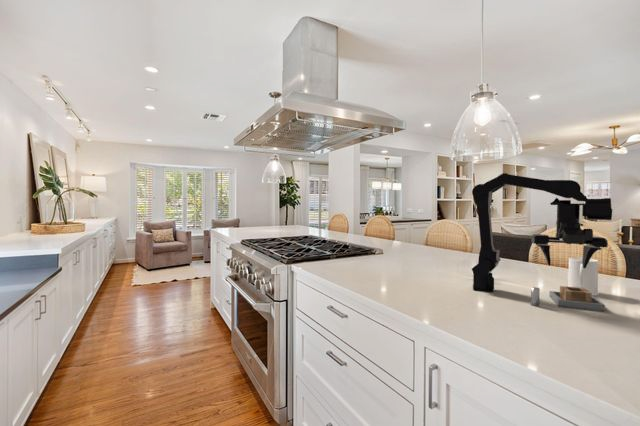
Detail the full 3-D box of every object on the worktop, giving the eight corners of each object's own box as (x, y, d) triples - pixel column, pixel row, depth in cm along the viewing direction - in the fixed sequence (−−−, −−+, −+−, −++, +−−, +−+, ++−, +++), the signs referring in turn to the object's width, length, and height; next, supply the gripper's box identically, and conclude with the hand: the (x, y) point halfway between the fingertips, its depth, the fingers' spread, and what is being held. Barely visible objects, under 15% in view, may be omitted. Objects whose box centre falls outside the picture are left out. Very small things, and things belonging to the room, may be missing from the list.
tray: (558, 306, 96) (558, 300, 96) (549, 296, 106) (549, 290, 106) (604, 311, 91) (604, 304, 91) (590, 300, 101) (590, 294, 101)
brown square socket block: (559, 297, 103) (559, 285, 103) (583, 300, 100) (583, 287, 100) (565, 303, 97) (565, 290, 97) (591, 306, 94) (591, 293, 94)
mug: (594, 299, 103) (595, 263, 102) (562, 293, 109) (563, 260, 109) (600, 292, 110) (601, 259, 110) (570, 287, 117) (570, 256, 116)
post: (531, 305, 97) (531, 288, 96) (530, 303, 99) (530, 286, 98) (540, 306, 96) (540, 289, 96) (538, 304, 98) (538, 287, 98)
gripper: (538, 219, 96) (537, 268, 97) (617, 221, 88) (614, 275, 89) (531, 217, 106) (530, 262, 107) (600, 219, 98) (599, 267, 99)
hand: (566, 266), depth 100 cm, fingers open, 9 cm apart
